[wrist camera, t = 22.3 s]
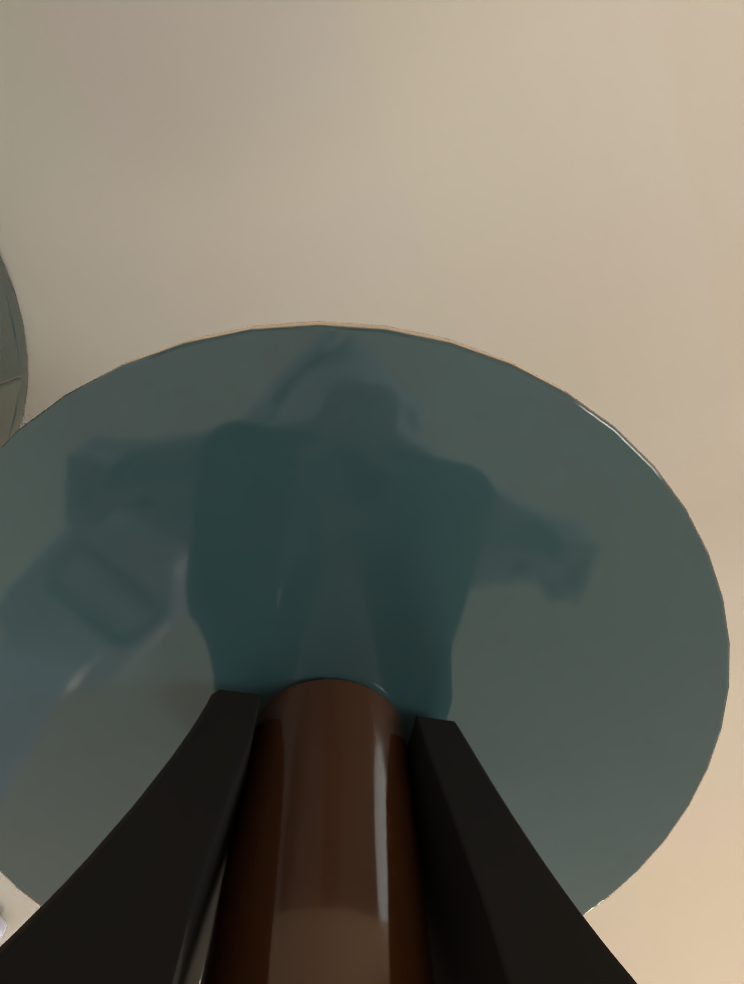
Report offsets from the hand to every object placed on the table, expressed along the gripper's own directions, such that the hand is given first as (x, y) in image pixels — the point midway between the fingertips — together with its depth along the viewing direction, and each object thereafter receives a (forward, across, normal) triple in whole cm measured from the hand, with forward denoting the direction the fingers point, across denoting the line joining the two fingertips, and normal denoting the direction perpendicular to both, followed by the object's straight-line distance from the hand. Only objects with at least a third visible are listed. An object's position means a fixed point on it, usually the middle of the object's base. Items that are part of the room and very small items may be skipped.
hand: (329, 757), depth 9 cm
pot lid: (+1, 0, 0) cm, 1 cm away
